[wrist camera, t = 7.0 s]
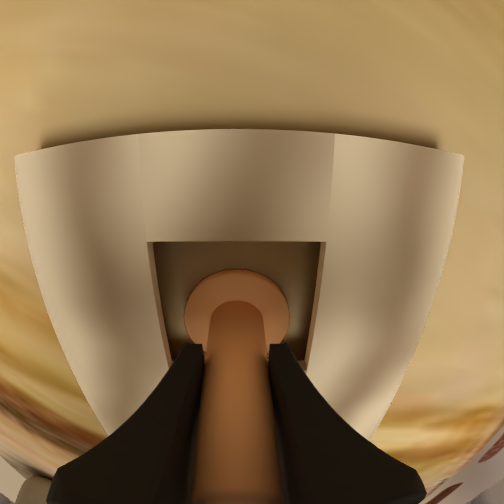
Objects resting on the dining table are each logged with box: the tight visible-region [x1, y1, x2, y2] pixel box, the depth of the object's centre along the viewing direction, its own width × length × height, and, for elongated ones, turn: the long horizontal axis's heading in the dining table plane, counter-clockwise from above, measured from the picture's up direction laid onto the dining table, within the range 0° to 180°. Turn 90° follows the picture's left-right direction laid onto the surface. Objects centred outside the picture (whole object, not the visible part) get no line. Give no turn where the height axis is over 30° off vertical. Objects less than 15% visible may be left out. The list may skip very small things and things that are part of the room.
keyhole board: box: [14, 129, 464, 441], centre depth 14 cm, size 18×22×2 cm
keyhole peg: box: [184, 269, 290, 504], centre depth 10 cm, size 5×5×9 cm
